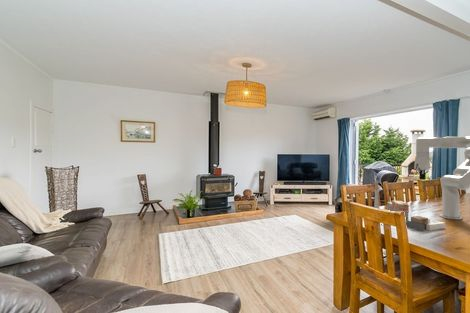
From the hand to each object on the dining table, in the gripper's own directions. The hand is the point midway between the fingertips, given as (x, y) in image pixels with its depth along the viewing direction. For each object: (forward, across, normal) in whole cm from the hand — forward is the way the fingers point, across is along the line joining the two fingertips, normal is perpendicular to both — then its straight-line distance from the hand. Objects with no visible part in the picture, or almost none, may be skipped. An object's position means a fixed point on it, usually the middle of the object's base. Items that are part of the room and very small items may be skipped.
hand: (422, 179), depth 173 cm
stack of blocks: (+29, +14, -9) cm, 34 cm away
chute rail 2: (+29, +16, +19) cm, 39 cm away
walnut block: (+29, +24, +15) cm, 41 cm away
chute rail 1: (+29, +16, +10) cm, 35 cm away
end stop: (+29, +29, +15) cm, 43 cm away
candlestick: (+29, +40, -3) cm, 50 cm away
